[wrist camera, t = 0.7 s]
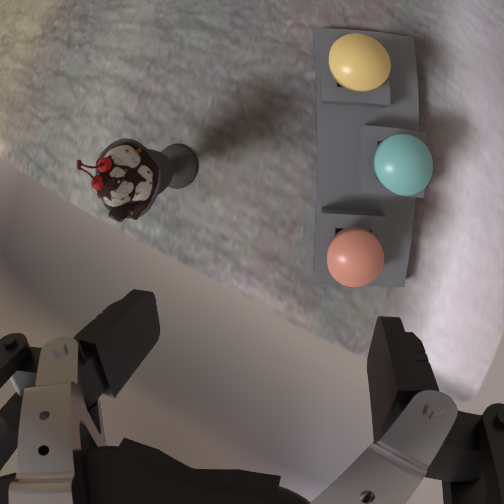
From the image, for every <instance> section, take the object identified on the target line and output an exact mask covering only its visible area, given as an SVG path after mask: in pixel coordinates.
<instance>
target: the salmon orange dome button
mask: <svg viewBox="0 0 504 504" xmlns="http://www.w3.org/2000/svg"><path fill="white" fill-rule="evenodd" d="M383 264H384V253H383V249H382V247H381V245H380V243H379V241H378V240H377V238H376V237H375V235H374V234H373V233H371V232H370V231H368V230H367V229H364V228H361V227H349V228H345V229H343V230H341V231H339V232H338V233H337V234H336V235H335V236H334V237H333V238H332V239H331V241H330V243H329V245H328V249H327V265H328V269H329V271H330V273H331V275H332V276H333V278H334V279H335V280H336V281H338V282H339V283H341V284H343V285H345V286H349V287H360V286H364V285H366V284H369V283H370V282H372V281H373V280H374V279H375V278H376V277H377V276H378V275H379V274H380V272H381V270H382V268H383Z"/></svg>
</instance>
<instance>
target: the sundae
mask: <svg viewBox="0 0 504 504" xmlns="http://www.w3.org/2000/svg"><path fill="white" fill-rule="evenodd" d="M81 166H84V167H87V168H96V176H94V177H93V176H92V175H91V174H90V173H89V172H87V171H86V170H84V169H82V168H81ZM77 169H78V170H83V171H84V172H86V173H88V174H89V175H90V176H91V178H92V181H91V186H92V188H94V189H96V193H97V195H98V197H99V198H100V199H101V200H102V202H103V204H104V206H105V207H106V208H107V209H108V210H109V211H110V212H109V214H108V217H110V218H111V219H113V220H117V221H119V222H121V221H123V220H124V219H125V218H132V219H134V220H136V219H138V217H140V216H142V215H144V214H145V213H146V212H147V211H148V210H149V209H150V208H151V206H152V205H153V203H154V201H155V199H156V197H157V195H158V194H160V193H161V192H162V191H163V190H164V189H165V188H166V187H167V186H169V187H171V188H176V189H178V188H183V187H186V186H187V185H189V184H190V183H191V182H192V181H193V179H194V178H195V176H196V172H197V161H196V157H195V156H194V154H193V152H192V151H191V150H190V149H189V148H187V147H186V146H184V145H179V144H174V145H170V146H168V147H166V148H165V149H164V150H163V151H162V152H158V151H155V150H150V149H147V148H146V147H145V146H143V145H142V144H140V143H139V142H137V141H135V140H132V139H120V140H118V141H115V142H114V143H112V144H110V145H109V146H108V147H107V148H106V149H105V150H104V151H103V152H102V153H101V155H100V157H99V159H98V160H97V161H96V166H93V167H92V166H87V165H84V164H82V162H81V160H78V161H77Z"/></svg>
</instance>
